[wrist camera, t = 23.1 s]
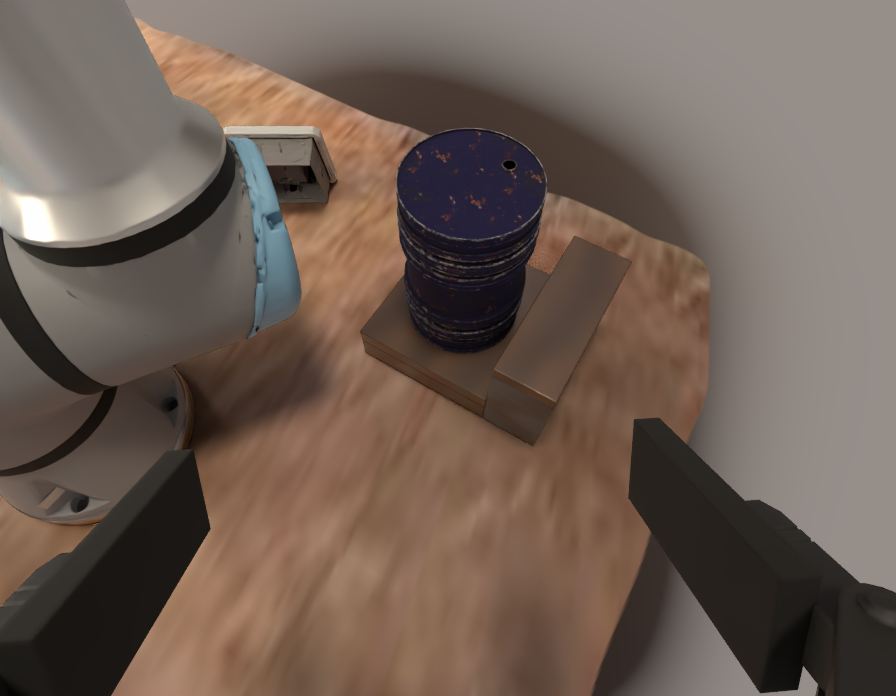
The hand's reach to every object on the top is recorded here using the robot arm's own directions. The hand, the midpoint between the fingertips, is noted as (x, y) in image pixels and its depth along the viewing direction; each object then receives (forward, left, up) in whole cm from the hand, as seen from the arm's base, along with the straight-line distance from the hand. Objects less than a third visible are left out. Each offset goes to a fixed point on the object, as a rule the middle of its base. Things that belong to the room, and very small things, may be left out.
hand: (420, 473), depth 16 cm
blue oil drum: (-9, +19, -24) cm, 32 cm away
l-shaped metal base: (-6, +19, -28) cm, 34 cm away
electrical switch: (-33, +24, -28) cm, 49 cm away
